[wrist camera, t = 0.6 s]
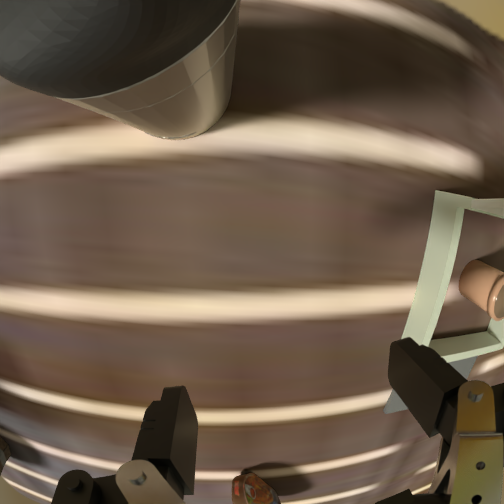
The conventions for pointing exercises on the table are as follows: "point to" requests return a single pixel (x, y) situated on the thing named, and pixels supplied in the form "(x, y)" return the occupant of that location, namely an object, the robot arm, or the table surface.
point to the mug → (3, 453)
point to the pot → (484, 287)
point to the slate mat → (460, 365)
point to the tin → (252, 490)
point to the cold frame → (438, 276)
